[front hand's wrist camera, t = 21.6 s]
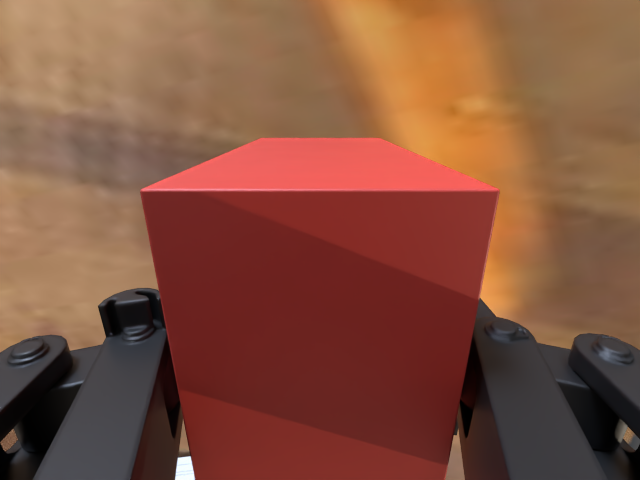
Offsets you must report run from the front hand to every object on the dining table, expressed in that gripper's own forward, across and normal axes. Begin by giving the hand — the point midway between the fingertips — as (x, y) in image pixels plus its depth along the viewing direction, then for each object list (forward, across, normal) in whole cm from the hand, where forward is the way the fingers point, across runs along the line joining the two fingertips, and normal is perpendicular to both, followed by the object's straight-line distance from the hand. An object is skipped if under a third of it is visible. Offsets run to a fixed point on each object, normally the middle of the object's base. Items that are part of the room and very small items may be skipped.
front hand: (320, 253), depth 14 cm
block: (+2, 0, 0) cm, 2 cm away
